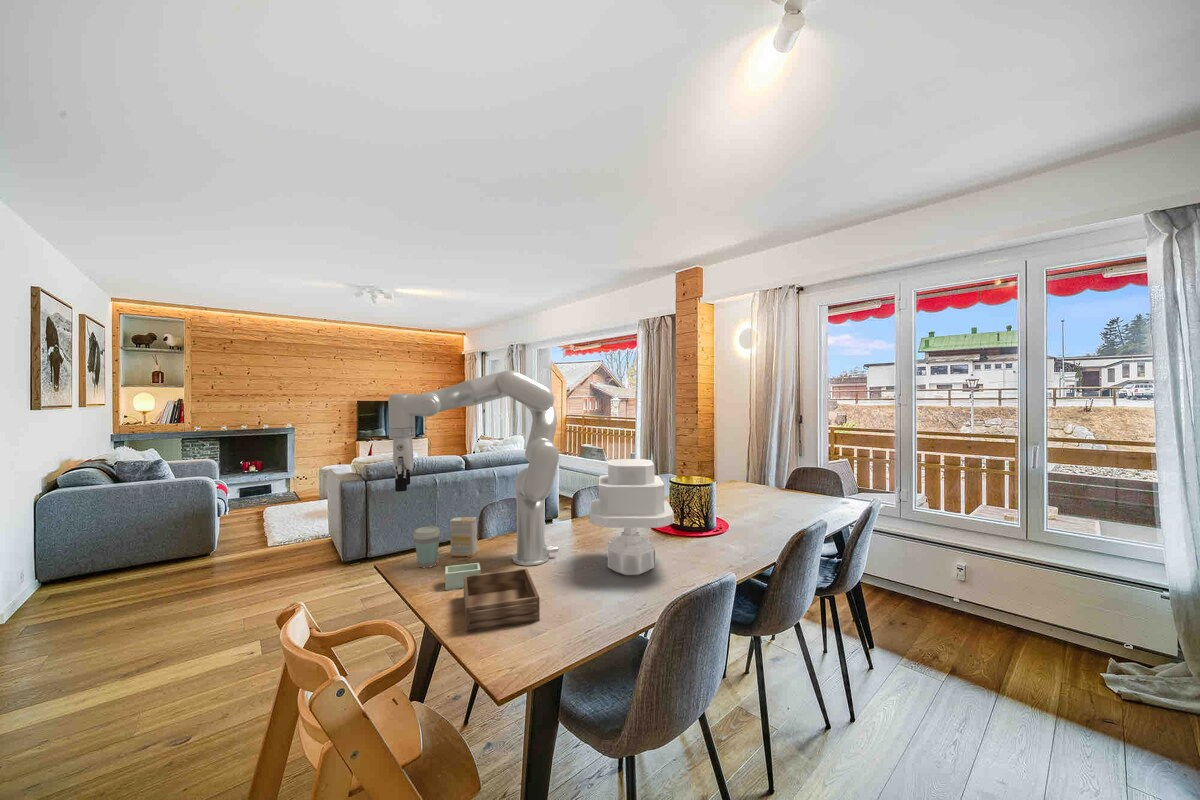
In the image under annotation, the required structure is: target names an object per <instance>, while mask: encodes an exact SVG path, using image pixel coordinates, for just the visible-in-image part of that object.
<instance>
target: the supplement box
mask: <svg viewBox="0 0 1200 800" xmlns="http://www.w3.org/2000/svg"><path fill="white" fill-rule="evenodd" d="M449 525H450V526H449V528H450V529H449V531H450V536H449V537H450V557H451V556H467V557H466V558H474V556H476V555H477V553H478V538H477V537H478V535H477V534H478V533H477V529H478V527H477V517H473V516H468V517H467V516H464V517H463V516H462V517H461V516H456V517H453V518H452V519H450V521H449ZM459 545H460V546H459ZM451 547H452V548H451Z"/></svg>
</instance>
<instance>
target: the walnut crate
mask: <svg viewBox="0 0 1200 800" xmlns="http://www.w3.org/2000/svg"><path fill="white" fill-rule="evenodd" d="M463 605H464V621H465V633H471V632H478V631H484V630H491V629H497V628H503V627H509V626H515V625H521V624H528V623H532V622H533V623H535V622H539V621H540V611H541V610H540V595H539V594H538V591H537V588H536V586H535V584H534V581H533V579H532V576H531V575H530V571H529V569H528V568H520V569H513V570H504V571H495V572H487V573H480V574H478V575H470V576H464V588H463Z"/></svg>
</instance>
